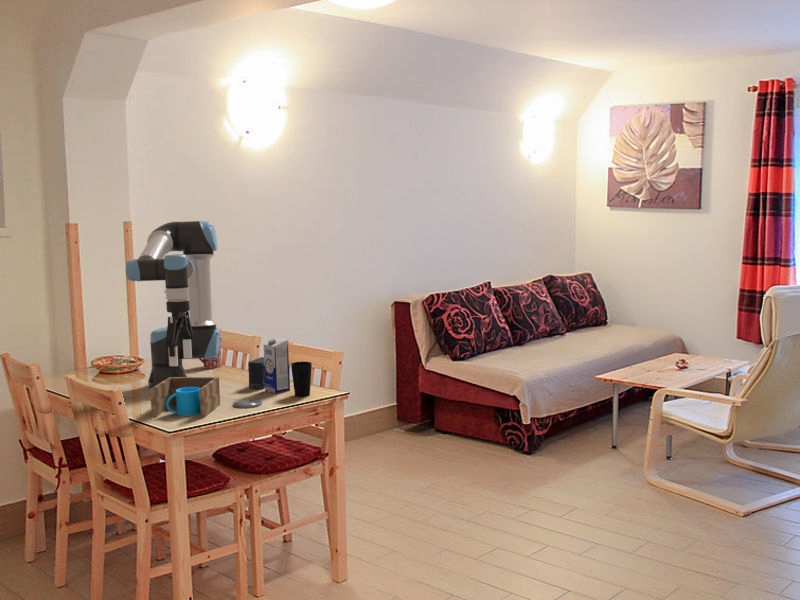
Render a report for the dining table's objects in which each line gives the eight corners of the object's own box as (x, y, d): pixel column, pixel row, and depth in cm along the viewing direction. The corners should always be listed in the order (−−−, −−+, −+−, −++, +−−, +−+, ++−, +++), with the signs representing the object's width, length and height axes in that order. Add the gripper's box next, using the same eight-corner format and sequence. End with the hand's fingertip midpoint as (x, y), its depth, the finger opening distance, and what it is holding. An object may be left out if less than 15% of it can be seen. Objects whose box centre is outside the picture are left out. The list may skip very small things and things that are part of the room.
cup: (309, 391, 304) (308, 360, 302) (315, 396, 297) (314, 364, 295) (289, 394, 301) (288, 362, 299) (294, 398, 294) (293, 366, 292)
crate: (171, 404, 289) (169, 377, 287) (220, 404, 287) (218, 377, 286) (151, 418, 271) (150, 389, 270) (203, 418, 269) (202, 389, 268)
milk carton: (290, 390, 306) (288, 338, 304) (275, 393, 302) (273, 341, 299) (279, 387, 312) (277, 336, 309) (265, 390, 307) (262, 339, 304)
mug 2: (220, 363, 359) (218, 334, 358) (225, 367, 351) (224, 337, 350) (191, 367, 354) (190, 336, 352) (196, 370, 346) (195, 339, 344)
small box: (263, 389, 309) (262, 362, 308) (248, 388, 311) (247, 361, 310) (276, 383, 319) (275, 357, 318) (261, 382, 321) (260, 356, 320)
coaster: (237, 401, 292) (237, 399, 292) (264, 401, 291) (264, 399, 291) (229, 408, 282) (229, 406, 282) (257, 408, 281) (257, 406, 281)
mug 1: (196, 408, 283) (195, 385, 282) (205, 413, 276) (203, 390, 275) (162, 413, 276) (161, 390, 275) (170, 419, 269) (169, 395, 268)
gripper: (179, 295, 284) (183, 354, 286) (152, 304, 259) (156, 369, 262) (200, 295, 283) (203, 354, 286) (175, 304, 258) (178, 369, 261)
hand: (181, 362), depth 274 cm, fingers open, 13 cm apart
